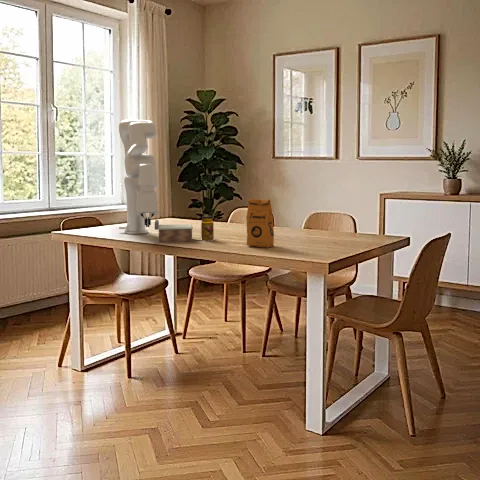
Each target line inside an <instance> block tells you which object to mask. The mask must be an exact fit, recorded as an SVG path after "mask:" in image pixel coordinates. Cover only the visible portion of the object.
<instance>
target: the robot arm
mask: <svg viewBox="0 0 480 480" xmlns="http://www.w3.org/2000/svg"><path fill="white" fill-rule="evenodd" d="M157 130H158V129H157V126H156V124H155V122H153V121H152V120H148V119H124V120H121V121H120V122H119V124H118V134H119V137H120V139H121V143H122V145H123V148H124V170H125V173H126V174H125V177H124V179H123V183H124V188H125V195H126V196H125V198H126V224H124V225H118V229H119V230H124V234H126V235H128V234H129V235H140V234H141V235H142V234H147V233H149V230H148V229H146V228H150V226H151V225H152V220H151V219H152V218H153V217H154V216H157V215H159V210H158V209H159V205H158V204H159V203H158V194H157V191H156V190H157V189H158V186H159V185H158V183H159V182H158V173H157V164H156V163H157V162H156V158H155V156H154V155H153V154H151V153H146V152H147V150H148V149H149V146H148V141H147V139H155V138H156V136H157V132H158V131H157ZM147 213H148V217H147Z"/></svg>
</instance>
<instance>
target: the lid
mask: <svg viewBox="0 0 480 480" xmlns="http://www.w3.org/2000/svg"><path fill="white" fill-rule="evenodd" d="M159 223H160V220H159V219H155V221H154V230H157V231H159V230H167V229H192V230H193V224H189V223H188V224H159Z"/></svg>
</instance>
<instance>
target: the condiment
mask: <svg viewBox="0 0 480 480" xmlns="http://www.w3.org/2000/svg"><path fill="white" fill-rule="evenodd" d="M200 224H201V226H200V229H201V230H200V231H201V233H200V235H201V237H200V238H202V240H205V241H204V242H212V241H211V240H213V241H215V240H216V238H215V237H214V233H215V232H214V230H215V229H214V227H215V226H214V220H213V216H212V215H202V216H201V222H200Z"/></svg>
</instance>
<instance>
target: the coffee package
mask: <svg viewBox="0 0 480 480" xmlns="http://www.w3.org/2000/svg"><path fill="white" fill-rule="evenodd" d="M272 209H273V208H272V204H271V199H270V198H269V199H257V198H249V199H248V206H247V210H246V211H247V212H246V218H245V219H246V246H250V247H254V248H266V249H270V248H272V247H274V246H275V244H274V243H275V238H274V237H275V234H274V233H275V231H274V217H273V210H272ZM269 247H270V248H269Z"/></svg>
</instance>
